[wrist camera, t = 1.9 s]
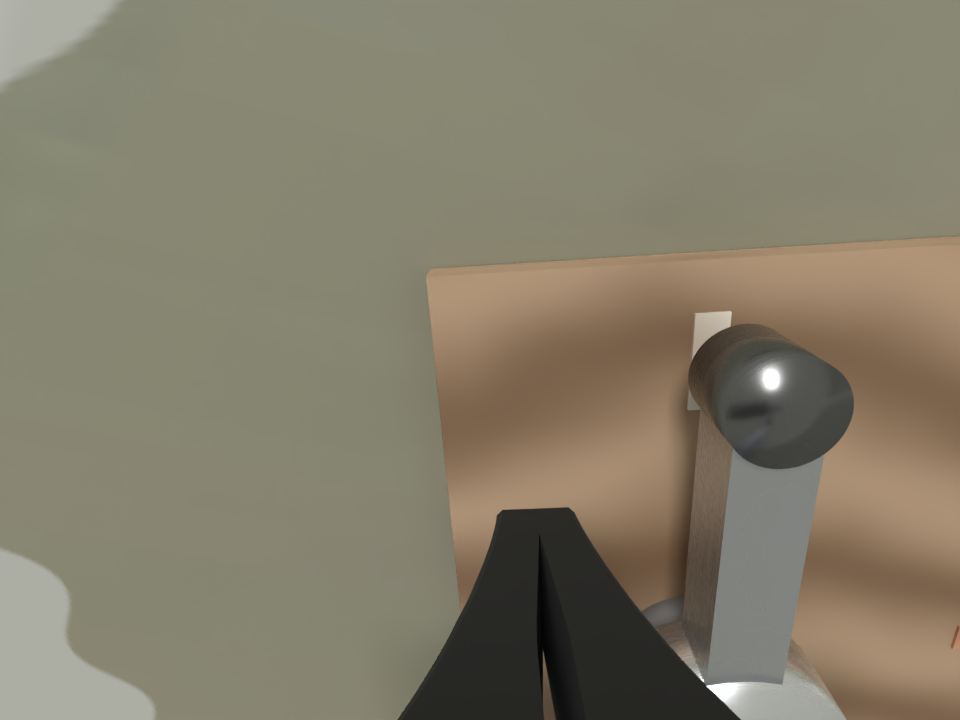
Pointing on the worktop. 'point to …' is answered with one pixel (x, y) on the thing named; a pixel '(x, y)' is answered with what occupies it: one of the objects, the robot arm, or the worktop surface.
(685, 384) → the post board
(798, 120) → the worktop surface
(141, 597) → the worktop surface
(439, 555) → the worktop surface
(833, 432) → the grey lever with knob
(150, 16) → the worktop surface
